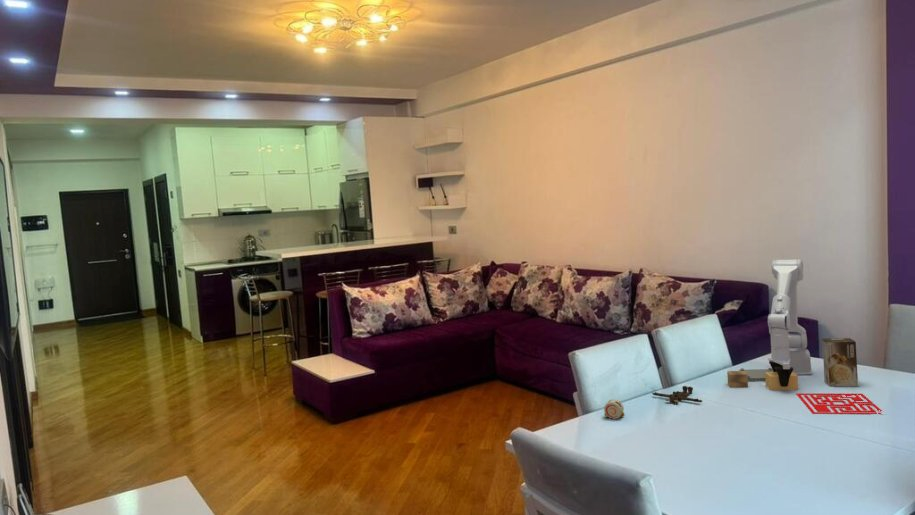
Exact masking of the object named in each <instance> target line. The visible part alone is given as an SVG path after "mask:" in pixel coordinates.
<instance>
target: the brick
mask: <svg viewBox="0 0 915 515" xmlns="http://www.w3.org/2000/svg"><path fill="white" fill-rule="evenodd" d="M765 378H766V381H765V387H766V388H768V389H769V390H770V391H795V390H796V391H797V390H799V376H798V375H796V374H795V373H793V372H792V373H791V375H790V378H789V383H788V386H787V387H781V385H780V382H779V376H778V373H777V372H765Z"/></svg>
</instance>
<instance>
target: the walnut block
mask: <svg viewBox="0 0 915 515" xmlns="http://www.w3.org/2000/svg"><path fill="white" fill-rule="evenodd" d="M726 372H727V376H726V377H727V385H728V386H729V388H731V389H732V388H733V389H734V388H735V389H737V388H738V389H739V388H740V389H741V388H743V389H744V388H745V389H746V388H749V382H748V374H747V373H746V372H745V371H739V370H731V371H730V370H728V371H726Z"/></svg>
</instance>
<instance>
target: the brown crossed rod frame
mask: <svg viewBox="0 0 915 515" xmlns="http://www.w3.org/2000/svg"><path fill="white" fill-rule="evenodd" d="M681 388H682V391H679V390H676V391H674V390H673V392H672V393H671V394H669V393H668V394H666V393H659V392H656V391H655V392H652V393H651V394H652V395H653V396H657V397H664V398H666V399H665V401H666V402H669V403H670V404H672V405H673V404H675V403H676V404H677V403H679V402H680V401H687V402H688V401H689V402H694V403H703V399H699V398H692V397H688V396H690V395H692V394H693V391H694V388H693V387H692V386H687V385H683V386H682V387H681Z"/></svg>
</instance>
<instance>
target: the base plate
mask: <svg viewBox="0 0 915 515" xmlns="http://www.w3.org/2000/svg"><path fill="white" fill-rule="evenodd" d="M738 371H745V372H746V373H747V374H748V383H749V382H766V378H765V372H773V370H772V367H768V368H762V369H761V368H759V369H756V368H755V369H751V368H750V369H745V368H743V367H742V368H740V369H738Z"/></svg>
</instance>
